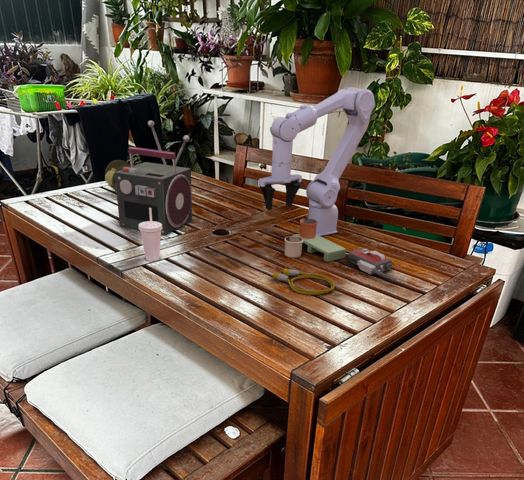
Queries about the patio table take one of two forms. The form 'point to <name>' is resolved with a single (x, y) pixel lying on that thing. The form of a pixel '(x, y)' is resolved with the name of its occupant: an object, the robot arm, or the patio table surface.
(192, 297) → the patio table surface
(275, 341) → the patio table surface
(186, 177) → the boombox
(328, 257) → the sage green baseplate
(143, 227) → the smoothie
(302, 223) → the terracotta pot
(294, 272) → the extension cord
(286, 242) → the cream pot
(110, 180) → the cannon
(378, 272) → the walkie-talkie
